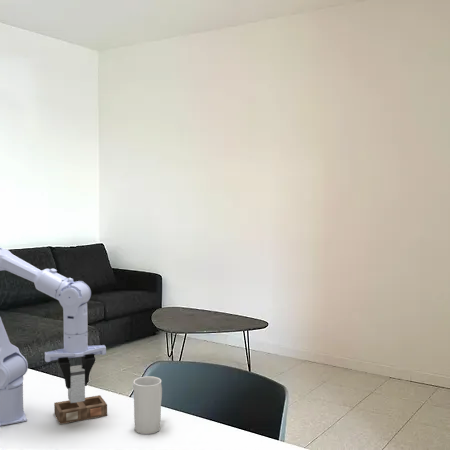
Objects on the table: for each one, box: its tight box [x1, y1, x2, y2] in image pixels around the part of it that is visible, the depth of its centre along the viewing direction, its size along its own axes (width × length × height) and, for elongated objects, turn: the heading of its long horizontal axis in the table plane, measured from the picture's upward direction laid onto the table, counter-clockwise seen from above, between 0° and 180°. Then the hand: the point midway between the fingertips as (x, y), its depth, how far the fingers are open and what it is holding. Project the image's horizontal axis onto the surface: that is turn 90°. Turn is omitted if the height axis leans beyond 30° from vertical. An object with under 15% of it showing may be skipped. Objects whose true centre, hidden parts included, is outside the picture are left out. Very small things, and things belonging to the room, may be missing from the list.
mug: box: [133, 376, 163, 435], centre depth 140 cm, size 10×7×12 cm, turn 156°
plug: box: [67, 364, 86, 403], centre depth 139 cm, size 3×3×8 cm
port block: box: [53, 394, 108, 425], centre depth 146 cm, size 12×7×3 cm, turn 117°
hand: (76, 386), depth 140 cm, fingers closed on plug, 3 cm apart
